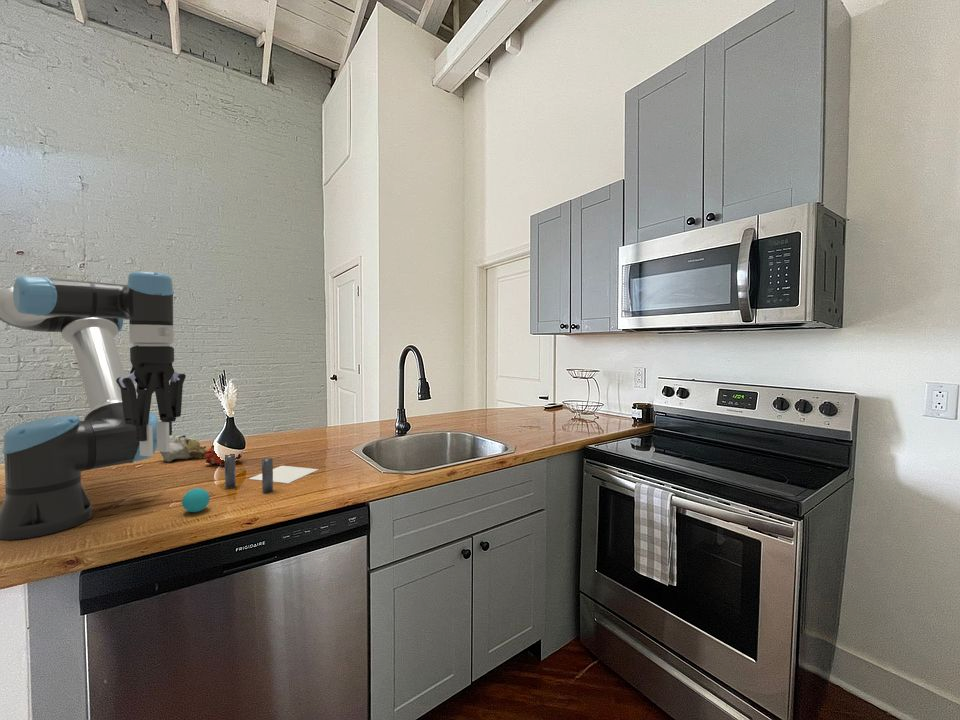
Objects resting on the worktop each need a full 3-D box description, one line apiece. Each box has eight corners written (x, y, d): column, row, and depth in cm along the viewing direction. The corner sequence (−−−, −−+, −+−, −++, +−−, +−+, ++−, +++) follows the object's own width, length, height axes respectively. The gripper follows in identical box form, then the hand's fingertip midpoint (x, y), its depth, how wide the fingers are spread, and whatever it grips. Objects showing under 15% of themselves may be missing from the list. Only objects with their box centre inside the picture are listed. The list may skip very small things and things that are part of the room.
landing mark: (287, 483, 122) (287, 483, 122) (248, 479, 126) (248, 478, 126) (318, 469, 136) (318, 469, 136) (281, 466, 139) (281, 465, 139)
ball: (194, 517, 99) (194, 493, 98) (176, 514, 100) (176, 491, 100) (215, 508, 104) (214, 486, 104) (197, 506, 105) (197, 484, 105)
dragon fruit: (246, 467, 143) (204, 477, 138) (244, 448, 149) (205, 457, 144) (241, 451, 138) (197, 460, 133) (240, 432, 144) (198, 440, 139)
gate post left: (230, 489, 117) (229, 457, 117) (222, 488, 118) (222, 456, 118) (238, 486, 120) (237, 454, 120) (230, 485, 121) (230, 454, 120)
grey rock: (156, 434, 146) (206, 431, 157) (154, 459, 146) (205, 454, 157) (162, 440, 138) (214, 435, 149) (160, 466, 138) (213, 460, 149)
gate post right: (268, 493, 114) (267, 460, 114) (260, 492, 115) (259, 459, 114) (275, 490, 117) (274, 458, 116) (267, 489, 117) (266, 457, 117)
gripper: (125, 345, 82) (128, 464, 83) (199, 345, 98) (201, 446, 99) (97, 345, 84) (100, 461, 85) (174, 345, 100) (176, 443, 101)
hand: (155, 453), depth 92 cm, fingers open, 3 cm apart
